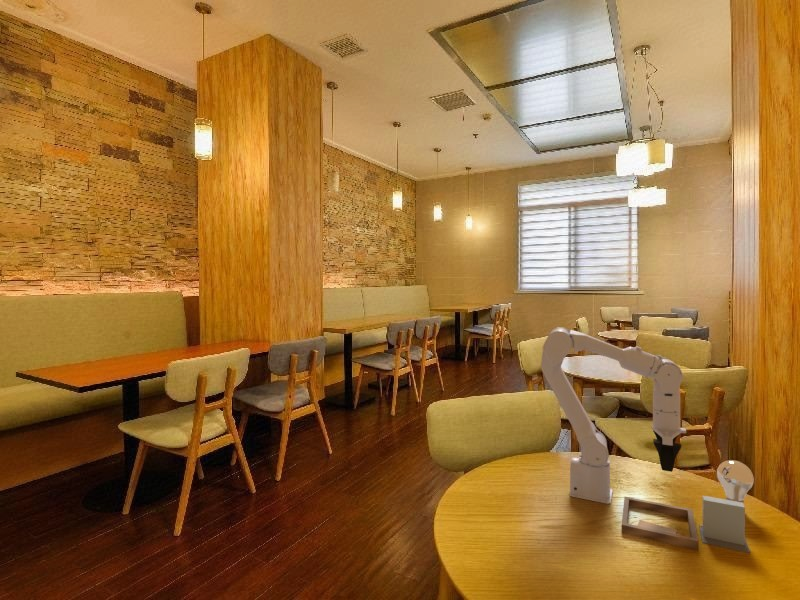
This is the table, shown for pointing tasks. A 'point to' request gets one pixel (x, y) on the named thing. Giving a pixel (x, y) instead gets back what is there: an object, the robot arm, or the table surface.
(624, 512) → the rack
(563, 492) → the table surface
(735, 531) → the light grey slab
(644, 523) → the offcut upper
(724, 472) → the light bulb
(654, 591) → the table surface
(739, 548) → the mat
